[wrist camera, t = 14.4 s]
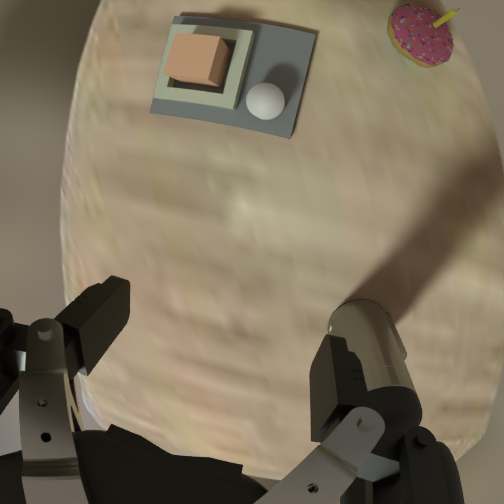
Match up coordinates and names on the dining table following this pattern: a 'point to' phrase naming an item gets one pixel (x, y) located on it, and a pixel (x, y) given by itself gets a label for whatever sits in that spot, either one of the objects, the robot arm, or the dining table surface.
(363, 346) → the robot arm
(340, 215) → the dining table surface
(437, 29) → the cupcake
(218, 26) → the base board
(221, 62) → the block
